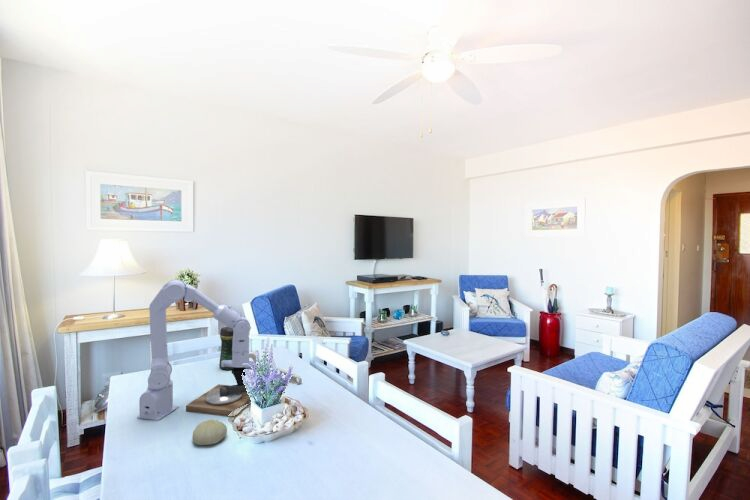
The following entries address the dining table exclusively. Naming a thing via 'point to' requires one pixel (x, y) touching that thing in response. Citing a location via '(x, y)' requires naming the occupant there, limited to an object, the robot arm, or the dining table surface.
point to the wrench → (293, 378)
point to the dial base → (222, 410)
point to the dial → (225, 394)
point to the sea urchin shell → (209, 432)
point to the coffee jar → (226, 345)
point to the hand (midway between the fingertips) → (240, 387)
